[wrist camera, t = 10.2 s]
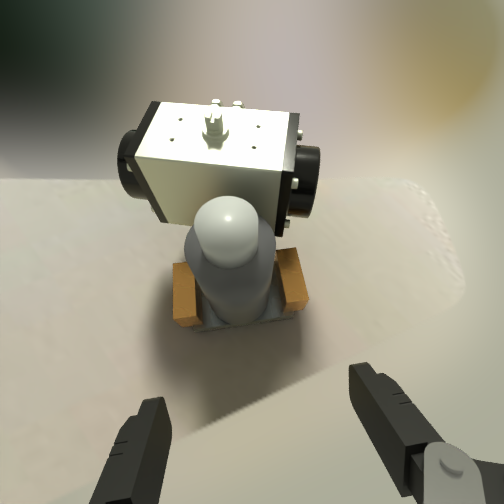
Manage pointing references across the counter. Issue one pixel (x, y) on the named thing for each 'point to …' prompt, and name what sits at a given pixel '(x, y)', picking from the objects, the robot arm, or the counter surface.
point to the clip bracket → (279, 303)
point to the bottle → (232, 258)
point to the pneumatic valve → (219, 161)
